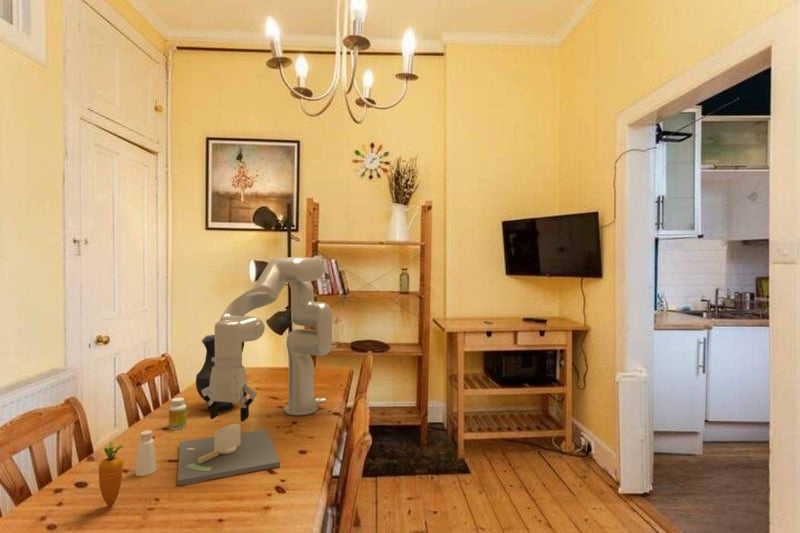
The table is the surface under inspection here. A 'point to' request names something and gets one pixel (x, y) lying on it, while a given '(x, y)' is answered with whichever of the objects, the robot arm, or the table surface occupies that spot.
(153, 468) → the pepper shaker
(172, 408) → the supplement bottle
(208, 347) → the pitcher
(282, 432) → the table surface
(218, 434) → the cream handled block
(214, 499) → the table surface
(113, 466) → the carrot
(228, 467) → the dial board
